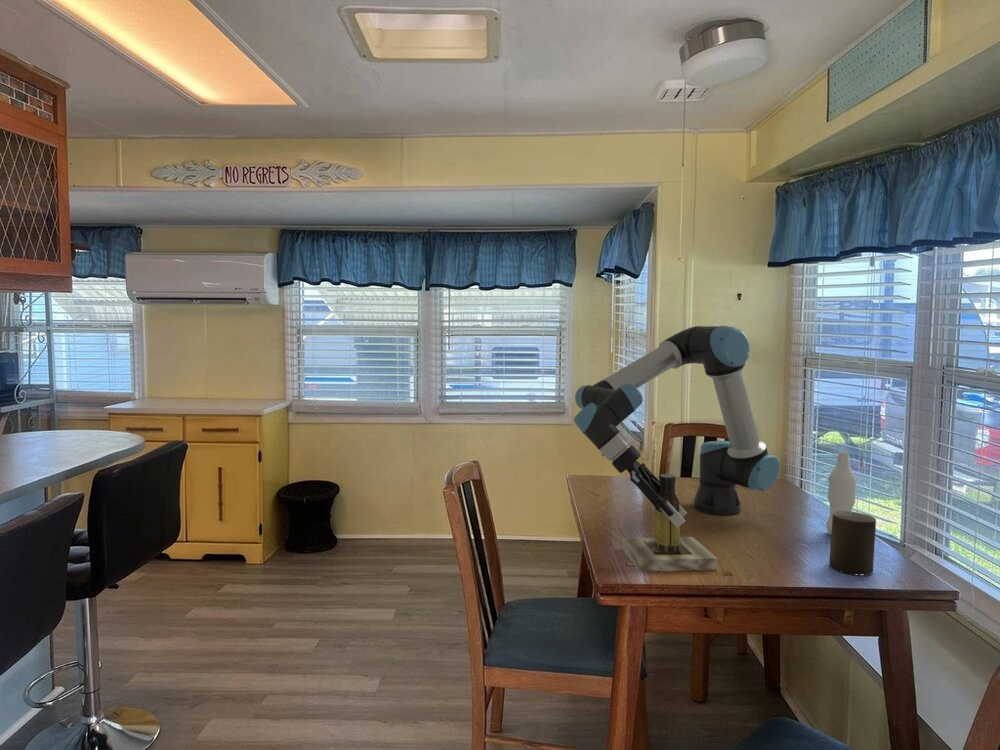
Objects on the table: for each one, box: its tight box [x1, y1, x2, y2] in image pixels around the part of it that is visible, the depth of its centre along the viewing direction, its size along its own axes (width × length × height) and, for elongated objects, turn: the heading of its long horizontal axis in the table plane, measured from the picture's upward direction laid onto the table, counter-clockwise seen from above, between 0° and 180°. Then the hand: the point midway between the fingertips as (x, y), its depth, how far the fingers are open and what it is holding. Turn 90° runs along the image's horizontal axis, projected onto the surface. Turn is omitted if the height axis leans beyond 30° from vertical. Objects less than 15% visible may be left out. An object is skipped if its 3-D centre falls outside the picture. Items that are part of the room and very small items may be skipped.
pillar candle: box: [828, 510, 877, 576], centre depth 155 cm, size 10×10×15 cm
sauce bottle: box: [654, 473, 681, 554], centre depth 159 cm, size 6×6×20 cm
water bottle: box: [825, 450, 857, 536], centre depth 179 cm, size 7×7×25 cm
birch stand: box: [621, 536, 718, 573], centre depth 160 cm, size 20×16×3 cm
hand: (682, 520), depth 158 cm, fingers closed on sauce bottle, 6 cm apart
